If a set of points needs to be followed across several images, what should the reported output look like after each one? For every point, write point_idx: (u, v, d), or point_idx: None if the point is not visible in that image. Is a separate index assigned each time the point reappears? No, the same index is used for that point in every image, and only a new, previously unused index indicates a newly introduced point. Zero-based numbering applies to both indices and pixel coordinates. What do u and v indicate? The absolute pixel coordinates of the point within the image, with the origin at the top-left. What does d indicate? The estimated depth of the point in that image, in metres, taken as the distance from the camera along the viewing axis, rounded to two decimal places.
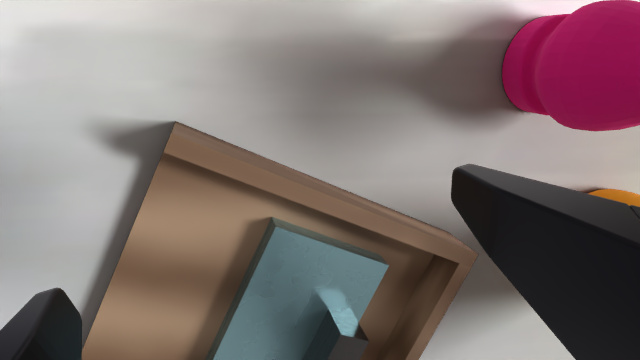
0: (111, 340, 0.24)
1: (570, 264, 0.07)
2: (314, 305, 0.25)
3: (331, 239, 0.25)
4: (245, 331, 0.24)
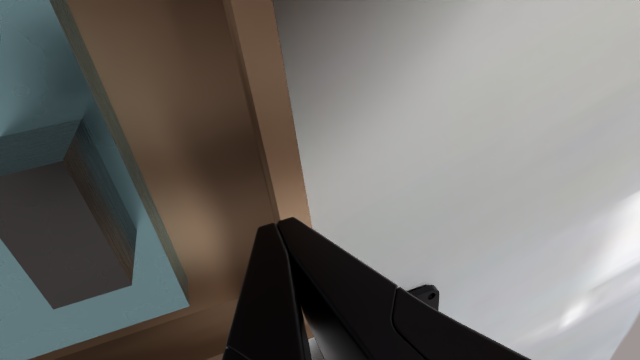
0: None
1: (340, 351, 0.06)
2: None
3: None
4: None
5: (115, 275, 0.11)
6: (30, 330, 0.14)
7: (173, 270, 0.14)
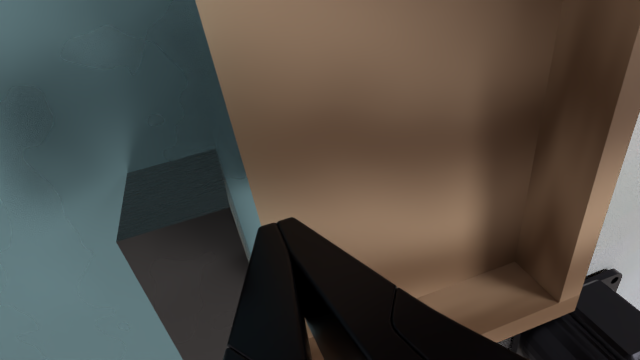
0: None
1: (339, 351, 0.06)
2: (81, 187, 0.09)
3: None
4: None
5: None
6: None
7: None
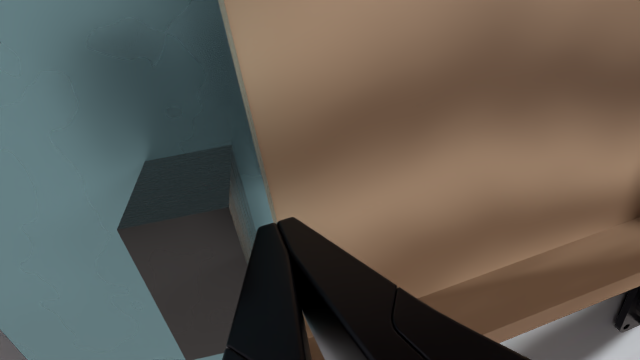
0: None
1: (339, 351, 0.06)
2: (101, 170, 0.09)
3: None
4: (17, 288, 0.11)
5: None
6: (143, 358, 0.13)
7: None
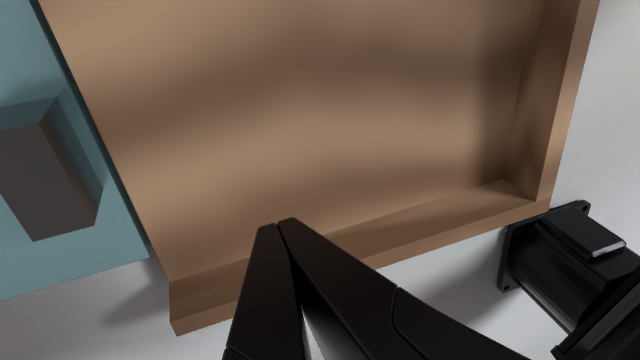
0: (173, 217, 0.18)
1: (340, 351, 0.06)
2: None
3: None
4: None
5: (81, 216, 0.14)
6: (17, 271, 0.17)
7: (135, 225, 0.18)
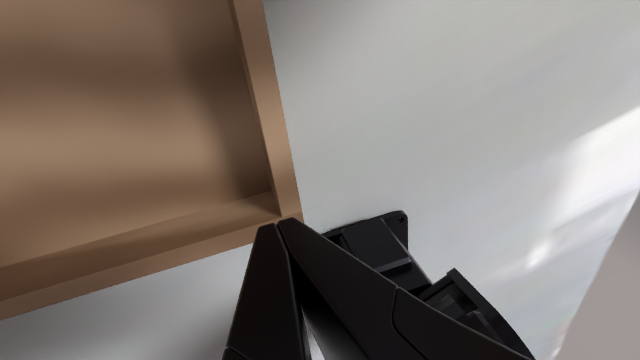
0: None
1: (340, 351, 0.06)
2: None
3: None
4: None
5: None
6: None
7: None
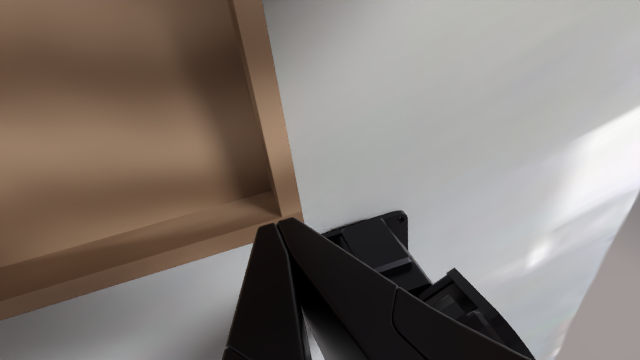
0: None
1: (340, 351, 0.06)
2: None
3: None
4: None
5: None
6: None
7: None
